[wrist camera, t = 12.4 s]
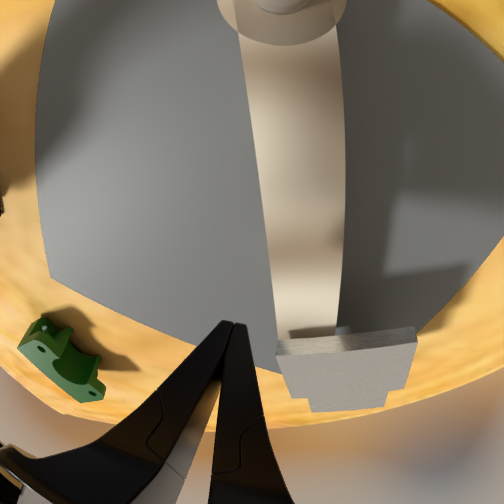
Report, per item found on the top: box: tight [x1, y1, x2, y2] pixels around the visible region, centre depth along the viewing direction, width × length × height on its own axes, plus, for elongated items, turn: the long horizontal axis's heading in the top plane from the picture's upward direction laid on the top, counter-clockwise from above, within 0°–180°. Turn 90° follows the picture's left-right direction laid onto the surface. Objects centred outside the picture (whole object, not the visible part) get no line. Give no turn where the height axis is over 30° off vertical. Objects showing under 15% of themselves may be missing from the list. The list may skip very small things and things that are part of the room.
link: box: [217, 0, 347, 340], centre depth 11 cm, size 20×4×4 cm, turn 8°
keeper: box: [275, 326, 418, 412], centre depth 17 cm, size 8×7×5 cm
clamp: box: [17, 317, 106, 403], centre depth 28 cm, size 12×6×9 cm, turn 20°
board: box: [35, 0, 504, 374], centre depth 14 cm, size 28×26×1 cm
